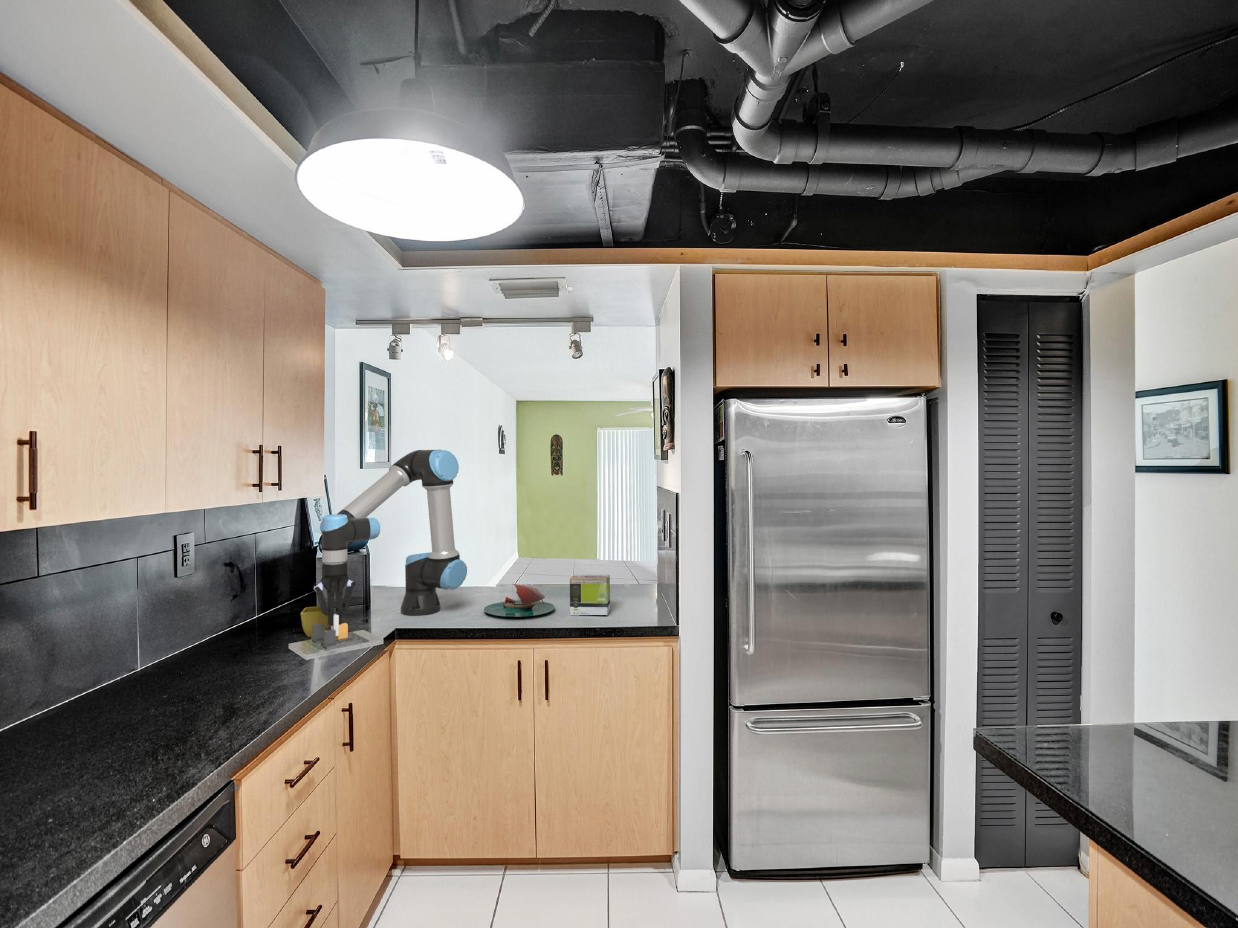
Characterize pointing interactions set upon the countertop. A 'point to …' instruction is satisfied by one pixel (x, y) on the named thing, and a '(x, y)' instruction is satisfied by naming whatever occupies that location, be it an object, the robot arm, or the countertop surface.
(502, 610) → the sailing ship model
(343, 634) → the orange upright block
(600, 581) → the tea box
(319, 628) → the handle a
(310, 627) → the flower pot
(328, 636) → the handle
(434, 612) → the robot arm
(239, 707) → the countertop surface
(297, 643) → the panel
